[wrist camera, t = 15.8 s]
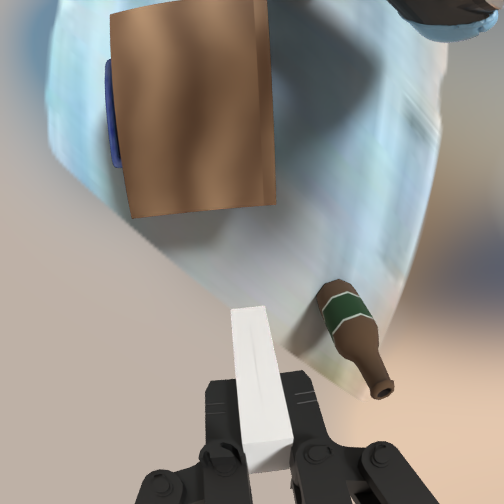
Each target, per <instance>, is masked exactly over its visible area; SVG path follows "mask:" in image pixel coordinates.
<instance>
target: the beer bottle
mask: <svg viewBox="0 0 504 504" xmlns="http://www.w3.org/2000/svg"><path fill="white" fill-rule="evenodd" d="M316 297H317V301H318V306H319V309H320V312H321V315H322V317H323V319H324V322H325V324H326V326H327V328H328V331H329V333H330V335H331V338H332V340H333V342H334V345H335V347H336V349H337V350H338V352H339V354H340V355H342V356H343V357H344V358H345V359H348V360H350V361H353V362H354V363H355V364H356V366H357V367H358V368H359V370H360V372H361V374H362V376H363V377H364V379H365V381H366V383H367V385H368V387H369V388H370V395H371V397H372V398H374V399H378V400H381V399H383V398H385V397H388V396H389V395H390V394H391V393H392V392H393V391H394V381H393V380H390V378H389V375H388V373H387V371H386V368H385V366H384V364H383V361H382V359H381V357H380V355H379V352H378V347H379V336H378V327H377V325H376V323H375V321H374V319H373V317H372V315H371V314H370V312H369V311H368V309H367V307H366V306H365V304H364V303H363V301H362V299H361V298H360V296H359V295H358V293H357V292H356V290H355V289H354V287H353V286H352V285H351V284H349V283H347V282H345V281H342V280H340V279H337V280H334V281H331V282H329V283H326V284H324V286H323V287H322V288H321V290H320V291H319V293H318V294H317V296H316Z"/></svg>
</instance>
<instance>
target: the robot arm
mask: <svg viewBox="0 0 504 504" xmlns="http://www.w3.org/2000/svg"><path fill="white" fill-rule="evenodd" d="M387 1H388V2H389V3H390V4H391V5H392V6H393V7H394V8H395V9H396V10H397V11H398V14H399V15H400V16H401V17H402V18H403V19H404V20H406V21H407V22H409V23H410V24H411V25H412V26H413V27H414V28H415V29H416V30H417V31H418V32H419V33H420V34H421V35H422V36H424V37H426V38H427V39H429V40H432V41H436V42H443V43H450V42H459V41H464V40H468V39H471V38H474V37H476V36H478V35H479V32H486V31H488V30H489V29H491V28H492V27H493V26H494V25H495V23H496V22H497V19H498V11H497V10H499V9H502V8H504V0H387ZM231 322H232V335H233V348H234V359H235V372H236V379H230V380H216V381H210V383H209V385H208V387H207V389H206V391H205V405H206V406H205V413H206V415H205V420H206V421H205V424H206V425H205V428H206V445H204V447H203V448H202V449H201V451H200V454H199V460H200V462H198V463H197V464H196V465H194V466H192V467H190V468H187V469H183V470H180V471H177V472H171V471H169V470H160V469H159V470H156V471H152V472H151V473H149V474H148V475H147V476H146V477H145V479H144V480H143V482H142V485H141V488H140V490H139V493H138V496H137V499H136V502H135V504H253V501H252V494H251V487H250V480H249V474H252V473H262V472H270V471H278V470H285V469H289V468H290V470H291V475H292V479H291V488H290V489H293V493H294V498H295V504H352V501H351V497H352V499H353V501H354V502H355V504H439V503H438V501H437V500H436V499H435V497H434V496H433V495H432V493H431V492H430V491H429V490H428V488H427V487H426V486H425V484H424V483H423V482H422V481H421V479H420V478H419V476H418V475H417V474H416V472H415V471H414V470H413V469H412V467H411V466H410V465H409V463H408V462H407V461H406V459H405V458H404V457H403V455H402V454H401V453H400V451H399V450H398V449H397V448H396V447H395V446H394V445H393V444H391V443H388V442H386V441H378V442H375V443H372V444H370V445H369V446H367V447H366V448H358V447H357V448H356V447H345V446H341V445H338V444H337V443H335V442H334V441H332V440H331V438H330V437H329V436H328V433H327V431H326V427H325V424H324V421H323V417H322V414H321V411H320V408H319V404H318V402H317V398H316V395H315V392H314V388H313V385H312V381H311V379H310V378H309V377H308V376H307V374H305V372H304V371H303V370H301V371H293V372H286V373H279V369H278V364H277V360H276V355H275V351H274V347H273V342H272V337H271V333H270V328H269V324H268V319H267V315H266V310H265V306H257V307H247V308H237V309H231ZM350 496H351V497H350Z"/></svg>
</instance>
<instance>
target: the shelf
mask: <svg viewBox="0 0 504 504" xmlns="http://www.w3.org/2000/svg"><path fill="white" fill-rule="evenodd" d="M110 47H111V68H112V82H113V95H114V105H115V115H116V124H117V132H118V140H119V147H120V154H121V161H122V168H123V174H124V180H125V186H126V191H127V197H128V202H129V207H130V213H131V217H132V219H134V218H142V217H151V216H159V215H168V214H178V213H187V212H197V211H207V210H217V209H228V208H240V207H252V206H265V205H276V178H275V147H274V121H273V97H272V77H271V58H270V40H269V24H268V9H267V0H179V1H172V2H166V3H160V4H154V5H149V6H144V7H139V8H135V9H130V10H126V11H122V12H118V13H114V14H110Z"/></svg>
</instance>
